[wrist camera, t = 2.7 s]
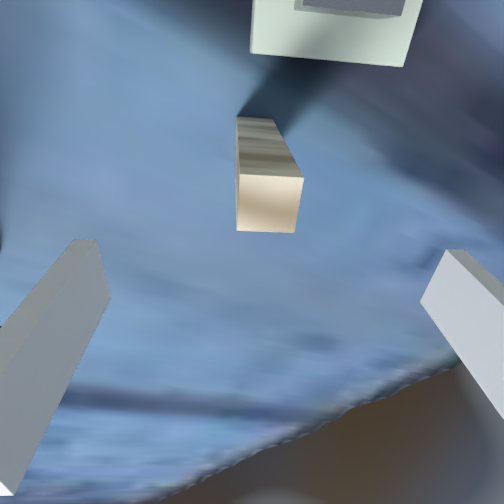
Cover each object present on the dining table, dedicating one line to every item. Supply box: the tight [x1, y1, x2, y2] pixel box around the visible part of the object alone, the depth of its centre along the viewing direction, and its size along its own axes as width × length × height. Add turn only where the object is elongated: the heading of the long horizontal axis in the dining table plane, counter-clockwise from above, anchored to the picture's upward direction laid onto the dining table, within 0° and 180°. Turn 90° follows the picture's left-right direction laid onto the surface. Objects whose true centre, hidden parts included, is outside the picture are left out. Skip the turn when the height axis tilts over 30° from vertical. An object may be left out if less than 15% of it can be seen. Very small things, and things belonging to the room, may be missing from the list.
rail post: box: [235, 116, 304, 233], centre depth 28 cm, size 4×4×18 cm
